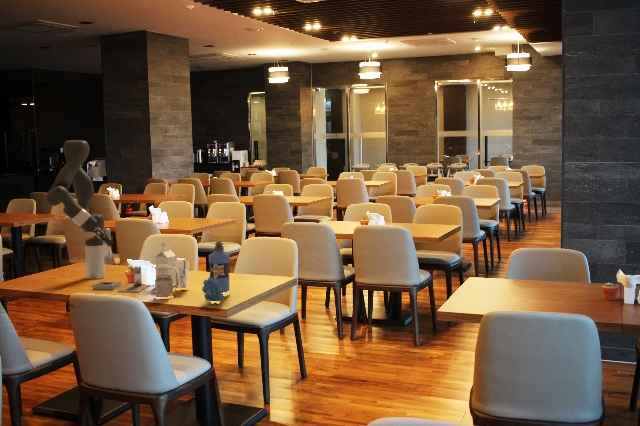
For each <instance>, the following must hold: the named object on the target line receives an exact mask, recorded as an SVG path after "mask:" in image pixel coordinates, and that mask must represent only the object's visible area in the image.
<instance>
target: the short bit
mask: <svg viewBox="0 0 640 426" xmlns="http://www.w3.org/2000/svg"><path fill="white" fill-rule="evenodd" d="M133 269H134V273H133V274H134V275H133V279H134V280H133V284H134V286H142V284H143V282H142V279H143V277H142V266H134V268H133Z"/></svg>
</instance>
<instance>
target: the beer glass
mask: <svg viewBox="0 0 640 426" xmlns="http://www.w3.org/2000/svg"><path fill="white" fill-rule="evenodd" d="M174 272H175V278H176V286H175V289H176V288H186V287H188V288H189V285H188V284H189V283H188V280H189V272H190V263H189V257H188V258H186V257H179V258H177V257H176V259H174Z"/></svg>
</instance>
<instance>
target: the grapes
mask: <svg viewBox="0 0 640 426" xmlns="http://www.w3.org/2000/svg"><path fill="white" fill-rule="evenodd" d="M201 291H202V293H204V299H205V300H206V301H220V300H221V302H222V301H223V300H224V298H225V297H224V296H223V294H221V293H223V288H222V287H221V286H219V281H218V280H214V279H213V278H211V277H210V276H209V277H208V278H207V279H204V280H203V286H202V288H201Z"/></svg>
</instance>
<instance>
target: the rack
mask: <svg viewBox="0 0 640 426" xmlns="http://www.w3.org/2000/svg"><path fill="white" fill-rule="evenodd" d="M145 284H146V283H142V286H134V283H129V284H128V285H126V286H125V287H122V288H120V290H118V291H117V293H132V294H134V293H136V294H137V293H138V294H140V293H141V292H143V291H145V290H146V289H148V288H149V287H151V286H150V285H145Z"/></svg>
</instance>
